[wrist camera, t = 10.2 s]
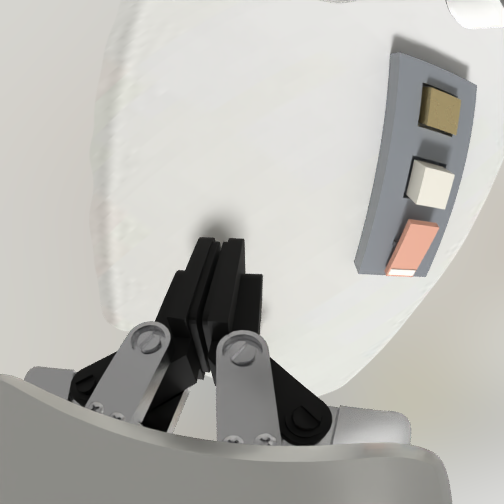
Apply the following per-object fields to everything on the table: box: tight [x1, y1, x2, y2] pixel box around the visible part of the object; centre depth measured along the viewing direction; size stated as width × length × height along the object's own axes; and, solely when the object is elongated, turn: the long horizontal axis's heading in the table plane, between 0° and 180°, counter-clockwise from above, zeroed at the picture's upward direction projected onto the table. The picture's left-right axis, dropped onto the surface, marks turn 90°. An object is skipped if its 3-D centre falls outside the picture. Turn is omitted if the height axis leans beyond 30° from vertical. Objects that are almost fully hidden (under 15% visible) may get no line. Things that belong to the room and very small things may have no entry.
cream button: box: [406, 159, 455, 210], centre depth 28 cm, size 5×5×3 cm
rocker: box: [384, 219, 439, 277], centre depth 34 cm, size 10×5×1 cm, turn 178°
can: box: [447, 0, 504, 29], centre depth 11 cm, size 6×6×12 cm
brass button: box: [418, 87, 461, 135], centre depth 24 cm, size 5×5×3 cm
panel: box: [354, 52, 477, 277], centre depth 31 cm, size 32×13×4 cm, turn 178°
